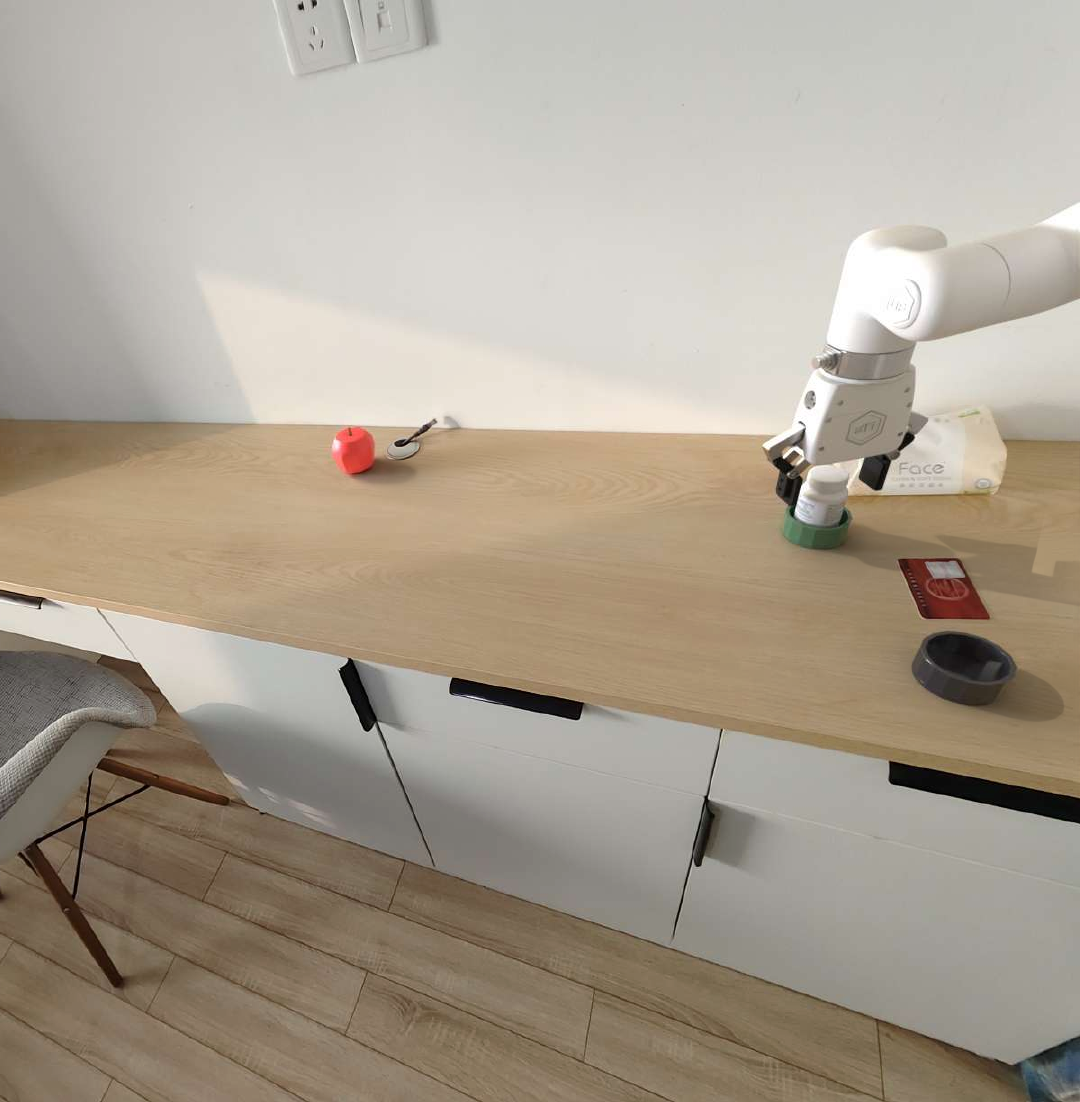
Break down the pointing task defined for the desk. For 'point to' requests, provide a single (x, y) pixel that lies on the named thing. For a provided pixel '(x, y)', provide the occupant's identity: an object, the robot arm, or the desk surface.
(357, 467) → the apple
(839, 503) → the pill bottle
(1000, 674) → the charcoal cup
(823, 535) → the green round container
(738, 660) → the desk surface
